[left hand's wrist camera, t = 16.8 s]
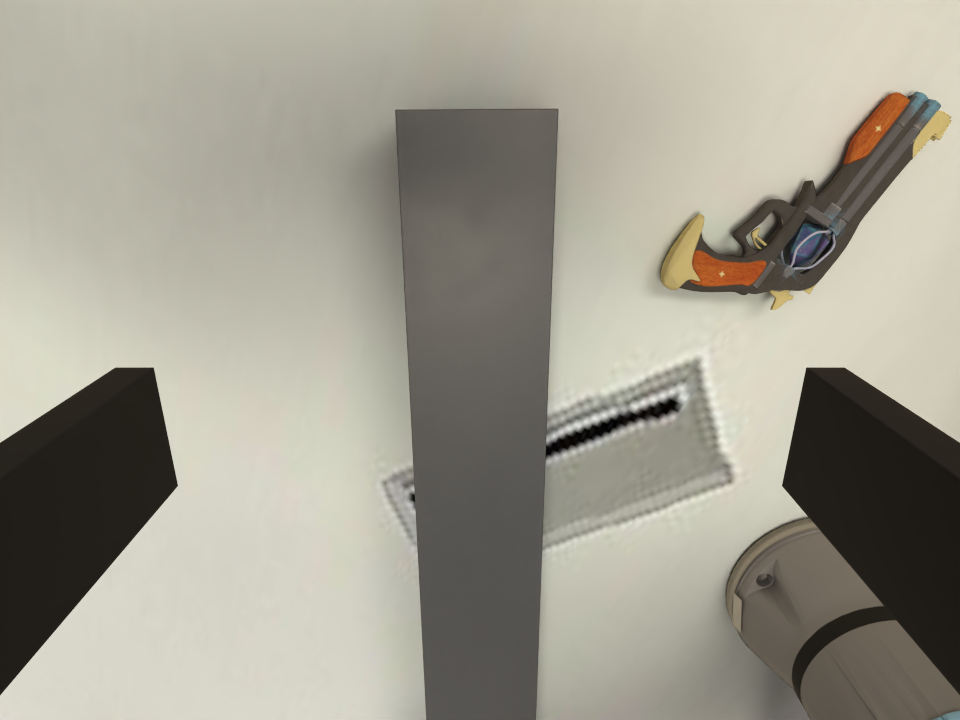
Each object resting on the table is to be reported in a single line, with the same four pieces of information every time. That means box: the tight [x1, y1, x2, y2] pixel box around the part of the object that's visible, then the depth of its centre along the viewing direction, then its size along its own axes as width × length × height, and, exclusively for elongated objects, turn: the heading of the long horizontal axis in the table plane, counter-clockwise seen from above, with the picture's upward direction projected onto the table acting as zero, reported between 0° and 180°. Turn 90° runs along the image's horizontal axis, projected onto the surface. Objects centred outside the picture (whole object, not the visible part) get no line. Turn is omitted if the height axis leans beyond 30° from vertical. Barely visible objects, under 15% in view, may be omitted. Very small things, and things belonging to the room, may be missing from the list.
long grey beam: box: [395, 109, 558, 720], centre depth 48 cm, size 63×9×7 cm, turn 0°
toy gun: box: [661, 92, 951, 310], centre depth 41 cm, size 3×19×10 cm
